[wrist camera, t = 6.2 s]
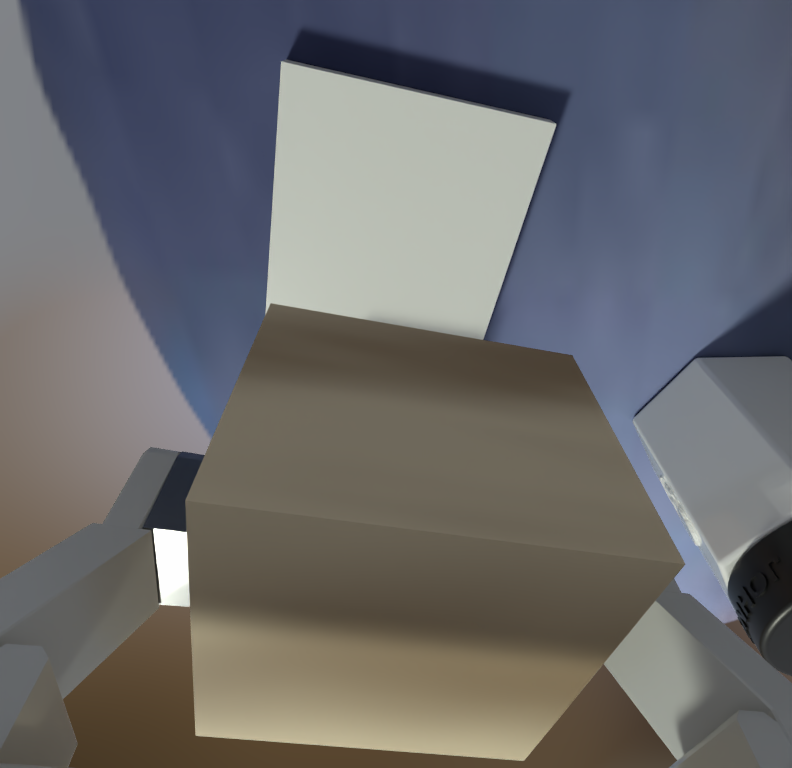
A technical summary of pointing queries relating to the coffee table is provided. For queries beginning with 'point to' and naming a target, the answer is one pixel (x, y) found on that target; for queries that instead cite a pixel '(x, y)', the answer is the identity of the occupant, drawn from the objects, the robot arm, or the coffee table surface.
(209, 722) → the maple block
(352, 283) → the base plate
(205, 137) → the coffee table surface
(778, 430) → the jar
